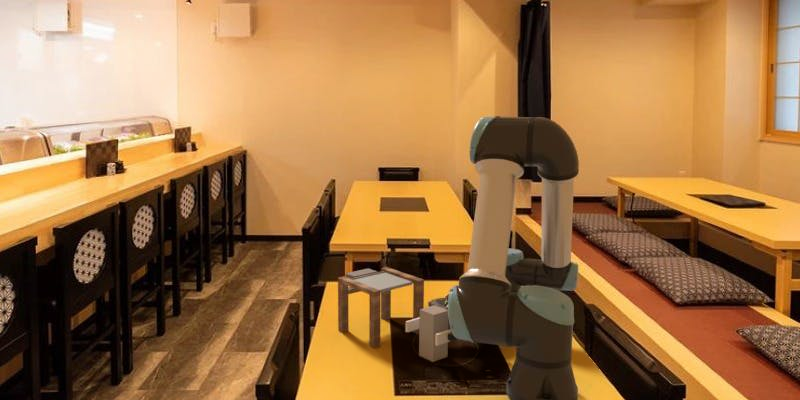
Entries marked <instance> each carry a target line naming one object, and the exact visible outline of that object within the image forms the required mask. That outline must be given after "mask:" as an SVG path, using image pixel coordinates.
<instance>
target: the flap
mask: <svg viewBox="0 0 800 400" xmlns="http://www.w3.org/2000/svg"><path fill="white" fill-rule="evenodd" d="M345 277H347V278H350V279H352V280H355V281H357V282H360V283H362V284H365V285H368V286H370V287H373V288H375V289H378V290H381V291H380V294H381V292H385V291H389V290H391V291H392V290H396V289H401V288H404V287H408V286H413V283H412V282H411V281H408V280H405V279H403V278H400V277H397V276H394V275H391V274H388V273H385V271H382V272H381V271H377V270H373V269H371V268H364V269H360V270H359V269H358V270H356V271H351V272H346V273H345Z"/></svg>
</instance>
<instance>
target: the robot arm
mask: <svg viewBox="0 0 800 400" xmlns="http://www.w3.org/2000/svg"><path fill="white" fill-rule="evenodd" d="M469 143H470V146H469V160H470V162H471V163H472V164H473V165H474V170H475V171H476V173H478V175H479V181H478V182H479V183H478V189H477V196H476V203H475V211H474V219H473V227H472V234H471V239H470V241H471V242H470V249H469V257H468V263H467V270H466V272H465V273H463V274H462V275H461V276H460V277H459V281H458V284H457V285H453V286H451V287H450V289H449V293H448V294H449V297H448V308H445V309H446V310H448V326H449V328H450V329H449V328H448V330H446V331H443V332H440V333H437V334H435V345H437V346H438V345H441V344H444V343H447V342H448V343H449V342H452V341H457V340H460V341H466V342H471V343H473V344H475V343H479V344H480V343H481V344H488V345H495V346H503V347H512V348H516V349H515V360H514V362H513V365H512V368H511V370H510V372H509V375H508V378H507V380H506V390H505V391H506V396H507V397H508V399H510V400H578V399H579V395H578V394H579V389H578V388H579V387H578V385H577V383H576V379H575V374H574V370H573V367H572V355H573V354H572V352H573V351H572V350H573V333H574V332H573V331H574V330H573V329H574V324H575V317H574V316H575V315H574V312H575V311H574V309H575V308H574V303H573V301H572V299H571V298H570V297H569V295H567V294H565V293H563V292H562V291H570V292H571V291H575V290H576V289H577V288H578V283H579V282H578V281H579V279H578V278H579V264H578V263H576V262H573V261H572V245H573V244H572V241H573V240H572V239H573V216H574V215H573V212H574V186H575V185H574V183H575V179H576V178H577V177H578V175H579V167H580V163H579V162H580V161H579V155H578V153H577V151H578V150H577V148H576V146H575V144H574V142H573V140H572V138H571V137H570V135H569V133H568V132H567V131H566V130H565V129H564V128H563V127H562V125H560V124H558V123H557V122H556V121H554V120H552V119H550V118H547V117H542V116H537V117H530V116H529V117H527V116H526V117H525V116H524V117H523V116H500V115H495V116H484V117H481V118H480V119H478V121H477V122H476V123H475V125H474V128H473V130H472V134H471V137H470V142H469ZM525 167H537V176H539V177H540V178H541V256H540V257H541V259H536V258H525V257H524V253H523V251H522V250H520V249H518V248H517V249H516V248H509V246H510V240H511V239H510V238H511V229H512V222H513V221H512V220H513V213H514V212H513V211H514V204H515V197H516V196H515V195H516V194H515V193H516V188H517V187H516V186H517V185H516V184H517V179H520V178H521V177H522V176H523V175H524V173H525ZM419 326H420V317H419V318H415V319H413V318H412V319H409V320H406V321H405V329H404V330H405V331H404V332H405V333H410V332H413V331H414V330H417V329H419Z"/></svg>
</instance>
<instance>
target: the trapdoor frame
mask: <svg viewBox="0 0 800 400" xmlns="http://www.w3.org/2000/svg"><path fill="white" fill-rule="evenodd" d="M382 271H385V273H388V274H391V275H394V276H397V277H400V278H403V279H405V280H408V281H411V282H412V286H413V287H412V288H413V290H412V291H413V293H412V294H413V296H412V297H413V298H412V299H413V301H412V303H413V305H412V310H413V311H412V319H415V318H419V317H420V309H423V308H425V307H424V306H425V304H424V301H425V299H424V297H425V279H423V278H419V277H417V276H415V275H412V274H408V273H405V272H402V271H399V270H397V269H394V268H391V267H388V266H385V267H382V268H381V269H380V272H382ZM380 291H381V290H378V289H375V288H373V287H370V286H368V285H365V284H362V283H360V282H357V281H355V280H352V279H350V278H347V277H346V276H340V277H337V312H338V313H337V314H338V316H337V319H338V320H337V321H338V322H337V325H338V327H337V329H338V331H339V332H341V333H345V332H348V331H349V295H351V294H356V293H359V292H362V293H365V294H367V295H369V299H368V300H369V302H368V303H369V306H368V307H369V310H368V311H369V312H368V313H369V325H368V326H369V329H368V330H369V333H368V334H369V337H368V338H369V339H368V341H369V344H368V345H369V347H370V348H373V349H377V348H380V347H381V319H382V320H384V321H388V320H391V317H392V314H391V312H392V311H391V310H392V309H391V308H392V303H391V302H392V299H391V298H392V290H389V291H385V292H381V293H380ZM412 333H414V334H416V335H419V329H417V330H414V331H412Z"/></svg>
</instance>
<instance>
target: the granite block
mask: <svg viewBox="0 0 800 400" xmlns="http://www.w3.org/2000/svg"><path fill="white" fill-rule="evenodd" d="M446 330H449V324H448V310H446V309H443V308H441V307H438V306H435V305H434V306H430V307H429V306H427V307H424V308H423V309H420V326H419V334H418V338H419V341H418V345H419V346H418V351H419V352H418V356H419V357H421V358H424V359H426V360H428V361H430V362H433V363H434V362H437V361H440V360H442V359H445V358H447V357H448V354H449V353H448V352H449V351H448V350H449V348H448V347H449V346H448V345H449V342H447V343H444V344H441V345H438V346H437V345H435V334H437V333H440V332H443V331H446Z"/></svg>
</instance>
